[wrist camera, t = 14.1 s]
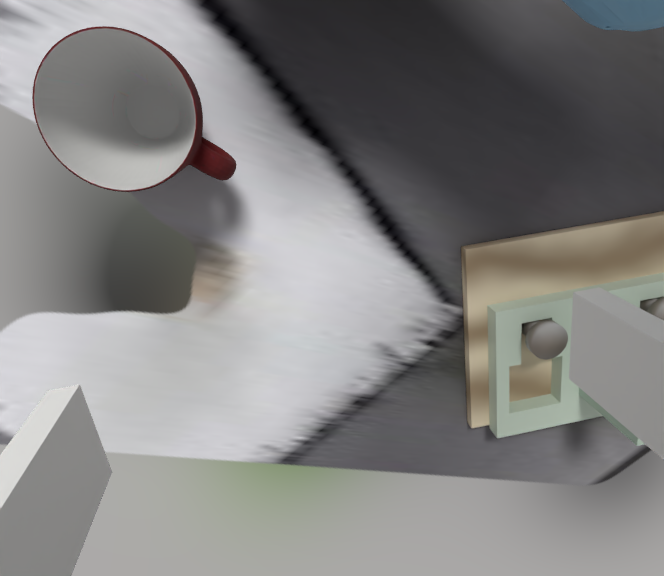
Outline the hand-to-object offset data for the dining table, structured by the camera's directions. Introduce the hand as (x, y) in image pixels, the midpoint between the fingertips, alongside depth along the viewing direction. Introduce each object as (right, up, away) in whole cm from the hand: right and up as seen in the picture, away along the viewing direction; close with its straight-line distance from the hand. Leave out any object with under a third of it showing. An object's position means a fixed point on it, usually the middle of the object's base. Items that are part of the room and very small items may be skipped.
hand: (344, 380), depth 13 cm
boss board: (+23, 0, +32) cm, 40 cm away
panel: (+23, -3, +33) cm, 40 cm away
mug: (-12, +14, +22) cm, 29 cm away
